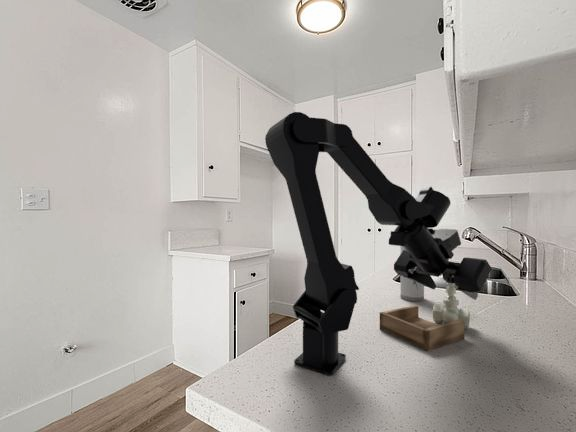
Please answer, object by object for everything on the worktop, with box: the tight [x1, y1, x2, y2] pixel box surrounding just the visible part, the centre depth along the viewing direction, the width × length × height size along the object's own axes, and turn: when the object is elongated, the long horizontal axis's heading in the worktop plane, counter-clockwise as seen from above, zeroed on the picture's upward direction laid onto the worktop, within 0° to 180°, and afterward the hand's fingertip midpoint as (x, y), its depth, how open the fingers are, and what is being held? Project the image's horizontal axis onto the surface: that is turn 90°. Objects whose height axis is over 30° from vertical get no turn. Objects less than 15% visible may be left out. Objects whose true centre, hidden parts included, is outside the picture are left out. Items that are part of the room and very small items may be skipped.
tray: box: [379, 304, 465, 352], centre depth 57 cm, size 11×11×4 cm
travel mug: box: [399, 246, 425, 302], centre depth 83 cm, size 6×7×20 cm
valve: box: [432, 272, 471, 329], centre depth 62 cm, size 7×7×12 cm
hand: (454, 292), depth 62 cm, fingers open, 9 cm apart
